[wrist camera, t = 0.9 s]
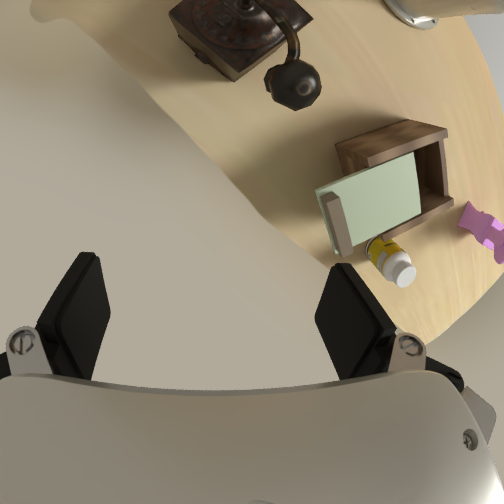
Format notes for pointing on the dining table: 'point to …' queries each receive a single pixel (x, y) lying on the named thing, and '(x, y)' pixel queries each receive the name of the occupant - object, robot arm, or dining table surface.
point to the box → (395, 144)
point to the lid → (369, 202)
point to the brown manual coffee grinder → (251, 42)
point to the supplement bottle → (391, 261)
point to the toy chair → (484, 230)
